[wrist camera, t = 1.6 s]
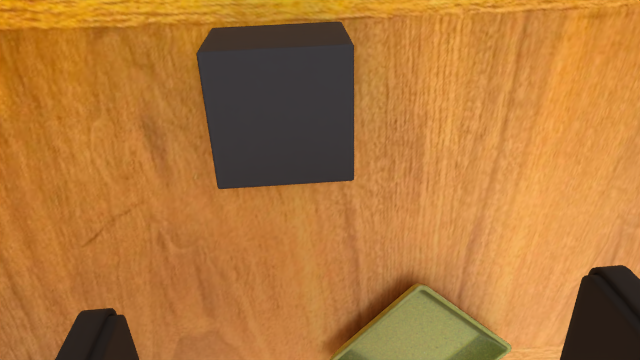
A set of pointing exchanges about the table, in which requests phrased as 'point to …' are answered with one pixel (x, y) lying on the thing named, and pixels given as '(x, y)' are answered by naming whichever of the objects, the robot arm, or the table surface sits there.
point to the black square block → (279, 103)
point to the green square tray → (423, 332)
